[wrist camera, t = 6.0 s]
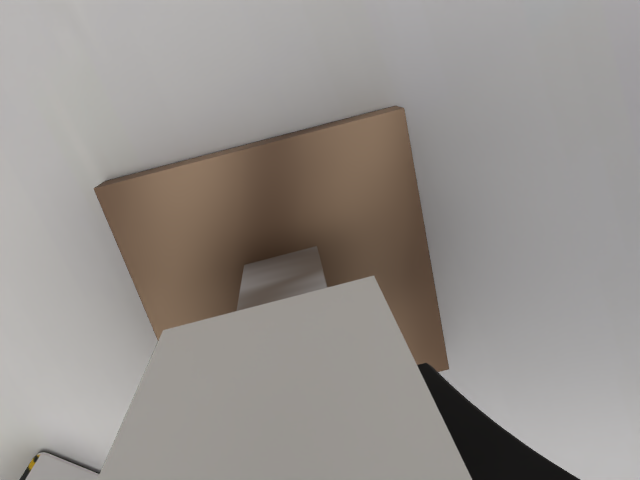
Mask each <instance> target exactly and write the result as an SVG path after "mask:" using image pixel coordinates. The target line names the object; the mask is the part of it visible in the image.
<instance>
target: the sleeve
mask: <svg viewBox="0 0 640 480" xmlns="http://www.w3.org/2000/svg"><path fill="white" fill-rule="evenodd" d="M97 480H472V478H471V476H470V474H469V472H468V470H467V468H466V466H465V464H464V462H463V460H462V457H461V455H460V453H459V451H458V449H457V447H456V445H455V443H454V441H453V439H452V437H451V435H450V433H449V430H448V428H447V426H446V424H445V422H444V420H443V418H442V416H441V414H440V412H439V410H438V408H437V406H436V403H435V401H434V399H433V397H432V395H431V393H430V391H429V389H428V387H427V385H426V383H425V381H424V379H423V377H422V374H421V372H420V370H419V368H418V366H417V364H416V362H415V360H414V358H413V356H412V354H411V352H410V350H409V347H408V345H407V343H406V341H405V339H404V337H403V335H402V333H401V331H400V329H399V327H398V325H397V323H396V320H395V318H394V316H393V314H392V312H391V310H390V308H389V306H388V304H387V302H386V300H385V298H384V296H383V293H382V291H381V289H380V287H379V285H378V283H377V281H376V279H375V277H374V276H370V277H366V278H362V279H358V280H355V281H351V282H347V283H343V284H339V285H335V286H331V287H328V288H324V289H320V290H316V291H312V292H308V293H305V294H301V295H297V296H293V297H289V298H285V299H281V300H278V301H274V302H270V303H266V304H262V305H258V306H254V307H251V308H247V309H243V310H239V311H235V312H231V313H227V314H224V315H220V316H216V317H212V318H208V319H204V320H201V321H197V322H193V323H189V324H185V325H181V326H177V327H174V328H170V329H166V330H163V331H162V334H161V336H160V338H159V341H158V343H157V345H156V347H155V350H154V352H153V354H152V356H151V359H150V361H149V363H148V365H147V368H146V370H145V372H144V375H143V377H142V379H141V381H140V384H139V386H138V388H137V390H136V393H135V395H134V397H133V399H132V402H131V404H130V406H129V409H128V411H127V413H126V415H125V418H124V420H123V422H122V424H121V427H120V429H119V431H118V433H117V436H116V438H115V440H114V443H113V445H112V447H111V449H110V452H109V454H108V456H107V458H106V461H105V463H104V465H103V467H102V470H101V472H100V474H99V477H98V479H97Z"/></svg>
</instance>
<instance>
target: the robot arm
mask: <svg viewBox="0 0 640 480" xmlns="http://www.w3.org/2000/svg"><path fill="white" fill-rule="evenodd" d="M417 366H418V368H419V370H420V372H421V374H422V377H423V379H424V381H425V383H426V385H427V387H428V389H429V391H430V393H431V395H432V397H433V399H434V401H435V403H436V406H437V408H438V410H439V412H440V414H441V416H442V418H443V420H444V422H445V424H446V426H447V428H448V430H449V433H450V435H451V437H452V439H453V441H454V443H455V445H456V447H457V449H458V451H459V453H460V455H461V457H462V460H463V462H464V464H465V466H466V468H467V470H468V472H469V474H470V476H471V478H472V480H580V479H578V478H577V477H575V476H573V475H572V474H570V473H568V472H567V471H565V470H564V469H562V468H560V467H559V466H557V465H555V464H554V463H552V462H551V461H549V460H547V459H546V458H544V457H543V456H541V455H540V454H538V453H537V452H535V451H534V450H532V449H531V448H530V447H528V446H527V445H525V444H524V443H522V442H521V441H520V440H518V439H517V438H515V437H514V436H513V435H511V434H510V433H509V432H507V431H506V430H505V429H503V428H502V427H501V426H499V425H498V424H497V423H495V422H494V421H493V420H492V419H490V418H489V417H488V416H487V415H485V414H484V413H483V412H482V411H480V410H479V409H478V408H477V407H476V406H474V405H473V404H472V403H471V402H470V401H468V400H467V399H466V398H465V397H464V396H463V395H461V394H460V393H459V392H458V391H457V390H456V389H455V388H454V387H453V386H451V385H450V384H449V383H448V382H447V381H446V380H445V379H444V378H443V377H442V376H441V375H440V374H439V373H438V372H437V371H436V370H435V369H434V368H433V367H432V366H431V365H429V364H428V363H423V364H419V365H417Z"/></svg>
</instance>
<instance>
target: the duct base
mask: <svg viewBox="0 0 640 480" xmlns="http://www.w3.org/2000/svg"><path fill="white" fill-rule="evenodd" d="M94 191H95V193H96V195H97V198H98V200H99V202H100V205H101V207H102V209H103V212H104V214H105V217H106V219H107V221H108V224H109V226H110V228H111V231H112V233H113V235H114V238H115V240H116V242H117V245H118V247H119V250H120V252H121V254H122V257H123V259H124V261H125V264H126V266H127V268H128V271H129V273H130V275H131V278H132V280H133V283H134V285H135V287H136V290H137V292H138V294H139V297H140V299H141V301H142V304H143V306H144V309H145V311H146V313H147V316H148V318H149V320H150V323H151V325H152V327H153V330H154V332H155V334H156V337H157V339H158V341H159V338H160V336H161V334H162V331H163V330H166V329H170V328H174V327H177V326H181V325H185V324H189V323H193V322H197V321H201V320H204V319H208V318H212V317H216V316H220V315H224V314H227V313H231V312H235V311H239V310H243V309H247V308H251V307H254V306H258V305H262V304H266V303H270V302H274V301H278V300H281V299H285V298H289V297H293V296H297V295H301V294H305V293H308V292H312V291H316V290H320V289H324V288H328V287H331V286H335V285H339V284H343V283H347V282H351V281H355V280H358V279H362V278H366V277H370V276H374V277H375V279H376V281H377V283H378V285H379V287H380V289H381V291H382V293H383V296H384V298H385V300H386V302H387V304H388V306H389V308H390V310H391V312H392V314H393V316H394V318H395V320H396V323H397V325H398V327H399V329H400V331H401V333H402V335H403V337H404V339H405V341H406V343H407V345H408V347H409V350H410V352H411V354H412V356H413V358H414V360H415V362H416V364H417V365H419V364H423V363H428V364H429V365H431V366H432V367H433V368H434V369H435V370H436V371H437V372H440V371H443V370H447V369H449V366H448V360H447V354H446V348H445V342H444V337H443V331H442V325H441V319H440V313H439V308H438V302H437V296H436V290H435V284H434V279H433V273H432V267H431V261H430V255H429V250H428V244H427V238H426V232H425V226H424V221H423V215H422V209H421V203H420V197H419V192H418V186H417V180H416V174H415V168H414V163H413V157H412V151H411V145H410V140H409V134H408V128H407V122H406V116H405V111H404V108H402V107H398V106H393V107H389V108H385V109H382V110H378V111H374V112H370V113H366V114H362V115H358V116H354V117H351V118H347V119H343V120H339V121H335V122H331V123H327V124H324V125H320V126H316V127H312V128H308V129H304V130H300V131H297V132H293V133H289V134H285V135H281V136H277V137H273V138H270V139H266V140H262V141H258V142H254V143H250V144H246V145H243V146H239V147H235V148H231V149H227V150H223V151H219V152H215V153H212V154H208V155H204V156H200V157H196V158H192V159H188V160H185V161H181V162H177V163H173V164H169V165H165V166H161V167H158V168H154V169H150V170H146V171H142V172H138V173H134V174H131V175H127V176H123V177H119V178H115V179H111V180H107V181H105V182H103V183H102V184H100V185H98V186H97V187H95V188H94Z"/></svg>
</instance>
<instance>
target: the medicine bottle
mask: <svg viewBox="0 0 640 480" xmlns="http://www.w3.org/2000/svg"><path fill="white" fill-rule="evenodd" d="M98 477H99V474H98V473H95V472H93V471H90V470H88V469H86V468H83V467H81V466H78V465H76V464H73V463H71V462H68V461H66V460H63V459H61V458H58V457H56V456H54V455H51V454H49V453H45V452H41V453H38V454H37V455H36V456H35V457H34V458H33V459H32V461H31V462H30V464H29V466H28V467H27V469H26V470H25V472H24V474H23V475H22V477H21V478H20V480H97V479H98Z"/></svg>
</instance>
